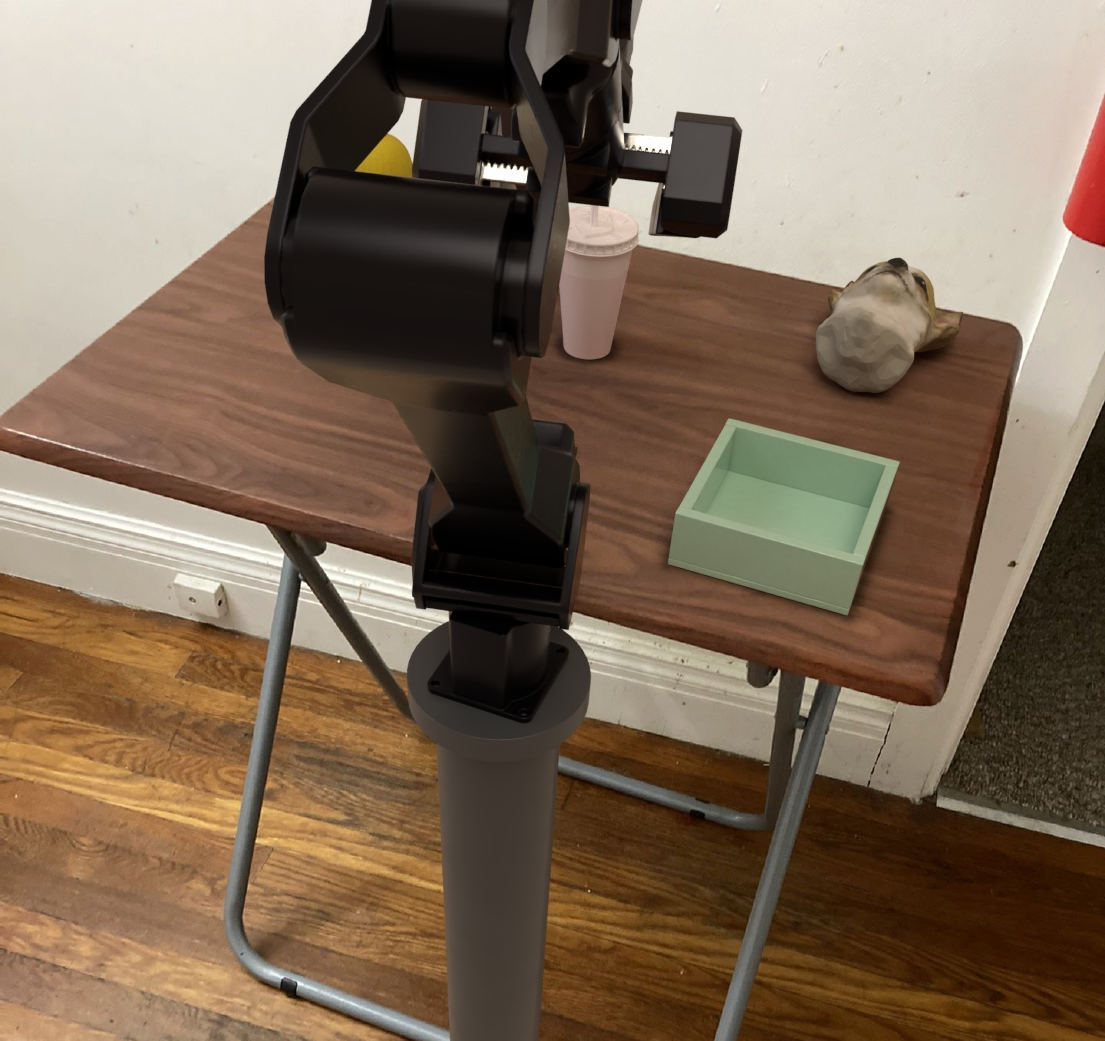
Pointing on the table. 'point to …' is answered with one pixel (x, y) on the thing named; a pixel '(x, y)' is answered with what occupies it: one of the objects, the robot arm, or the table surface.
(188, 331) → the table surface
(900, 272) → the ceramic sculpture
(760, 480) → the open box
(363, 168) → the lemon
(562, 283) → the smoothie
